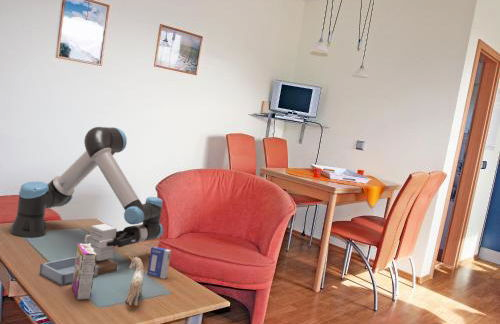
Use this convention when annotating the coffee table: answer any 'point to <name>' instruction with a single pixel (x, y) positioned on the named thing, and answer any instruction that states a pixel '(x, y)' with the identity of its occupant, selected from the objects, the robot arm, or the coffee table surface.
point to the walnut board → (106, 266)
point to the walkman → (159, 262)
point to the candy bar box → (84, 271)
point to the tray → (61, 270)
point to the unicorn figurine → (135, 280)
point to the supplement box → (102, 234)
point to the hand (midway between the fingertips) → (92, 241)
